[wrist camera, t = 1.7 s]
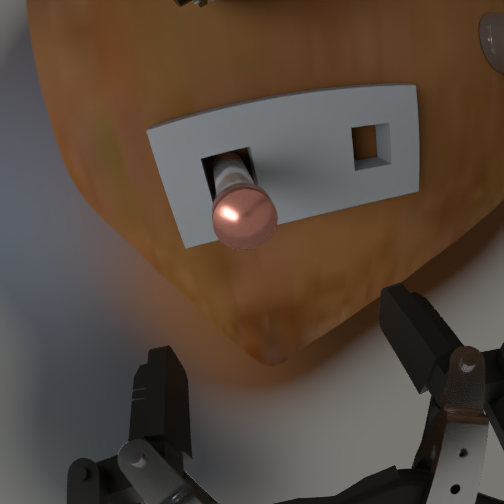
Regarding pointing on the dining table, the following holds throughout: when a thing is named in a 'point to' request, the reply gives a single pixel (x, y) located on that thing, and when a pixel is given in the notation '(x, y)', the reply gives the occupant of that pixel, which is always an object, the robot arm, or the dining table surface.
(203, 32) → the dining table surface
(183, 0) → the pneumatic valve
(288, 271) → the dining table surface
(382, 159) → the mount board
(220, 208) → the lock pin
